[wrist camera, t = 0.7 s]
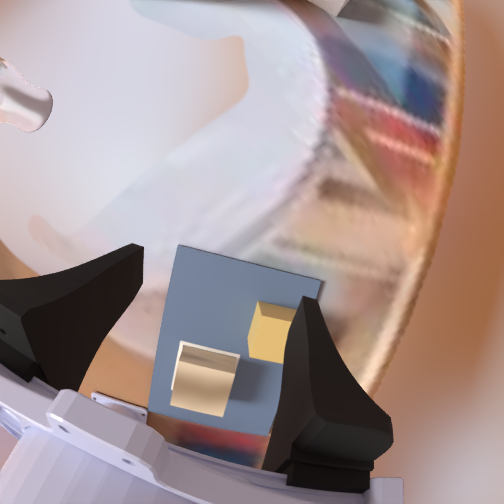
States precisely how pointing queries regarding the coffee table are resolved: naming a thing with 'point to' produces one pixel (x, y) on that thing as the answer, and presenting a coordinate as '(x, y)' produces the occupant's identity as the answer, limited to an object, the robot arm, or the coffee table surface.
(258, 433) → the board
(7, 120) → the beer glass
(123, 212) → the coffee table surface
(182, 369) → the maple base block
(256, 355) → the ochre block
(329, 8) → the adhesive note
